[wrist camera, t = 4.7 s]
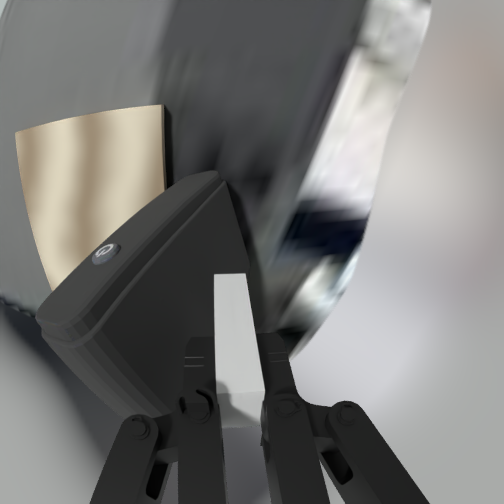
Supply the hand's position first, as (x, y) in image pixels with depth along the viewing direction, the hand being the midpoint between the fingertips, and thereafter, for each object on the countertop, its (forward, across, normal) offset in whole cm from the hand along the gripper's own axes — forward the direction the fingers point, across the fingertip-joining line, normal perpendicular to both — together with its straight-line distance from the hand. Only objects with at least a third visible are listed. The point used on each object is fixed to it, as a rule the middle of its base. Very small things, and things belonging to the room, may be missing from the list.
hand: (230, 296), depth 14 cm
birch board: (+10, -11, 0) cm, 14 cm away
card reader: (+9, 0, 0) cm, 9 cm away
